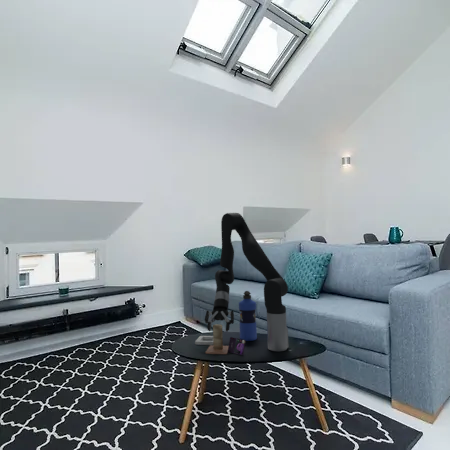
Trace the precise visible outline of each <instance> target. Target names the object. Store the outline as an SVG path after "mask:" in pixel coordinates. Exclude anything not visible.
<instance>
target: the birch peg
mask: <svg viewBox="0 0 450 450" xmlns="http://www.w3.org/2000/svg"><path fill="white" fill-rule="evenodd" d="M223 333H224V332H223V324H221V323H219V324H218V323H217V324H212V336H213V349H214V350H222V349H223V346H224V344H223V343H224V342H223V341H224V340H223V339H224V338H223Z"/></svg>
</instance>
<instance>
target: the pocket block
mask: <svg viewBox="0 0 450 450" xmlns="http://www.w3.org/2000/svg"><path fill="white" fill-rule="evenodd" d="M194 344H195V345H197V346H198V345H199V346H200V345H201V346H202V345H204V346H210V345H213V335H200V336H199V337H198V338H197V339H195V341H194Z"/></svg>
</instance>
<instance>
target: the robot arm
mask: <svg viewBox="0 0 450 450" xmlns="http://www.w3.org/2000/svg"><path fill="white" fill-rule="evenodd" d="M222 215H223V216H222V217H221V223H220V224H221V226H220V229H221V230H220V231H221V251H220V252H221V253H220V260H219V264H220V265H219V266H220V267H222V268H224V269H227V270H221V269H218V270H217V271H216V272H215V273H214V279H215V284H216V291H215V295H214V300H213V307H212V311H210V310H208V309H207V310H206V312H205V316H204V322H205V324H207V327H206V329H207V331H208V332H211V331H212V330H211V329H212V325H213V323H215V321H224V322H225V324H226V325H225V332H226V333H228V331H229V330H230V325H232V324H234V323H235V321H234V320H235V314H234V313H235V311H234V310H231V311H229V305H230V285H233V283H234V281H235V274H234V256H235V250H234V245H233V242H232V232H233V231H236V233H237V234H238V235H239V237H240V241H241V248H242V253H243V255H244V256H245V258H246V259H247V261H248V263H249V264H250V265H251V266H252V267H253V268H255V269H256V270H257V271H258V272H259V273H260V274H261V275H263V276H264V278H265V280H266V282H265V283H264V284H263V285H264V286H263V297H264V298H263V301H264V306H265V309H266V332H267V334H266V336H267V349H268V350H270V351H272V352H284V351H287V349H288V348H289V328H288V326H287V307H286V305H284V303H283V302H282V301H283V299H282V297H284V296H286V294H287V293H288V292H289V287H288V284H287V282H286V281H285V279H284V278H283V276H282V275H281V274H280V273H279V272H278V270H277V269H276V268H275V266H274V265H273V263H272V262H271V261H270V259H269V257H268V256H267V255H266V253H265V252H264V249H263V248H262V247H261V245H260V244H259V243H258V241H257V240H256V237H255V235H253V233H252V232H251V230H250V227H249V226H248V224H247V222H246V220H245V218H244V217H243V216H242V214H241V213H239V212H227V213H225V214H222ZM228 316H230V319H229V317H228Z"/></svg>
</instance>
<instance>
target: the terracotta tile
mask: <svg viewBox="0 0 450 450" xmlns="http://www.w3.org/2000/svg"><path fill="white" fill-rule="evenodd" d="M228 347H229V345H223V349H222V350H214V349H213V345H208V348H207V349H206V350H205V354H207V355H228V353H229V352H228Z"/></svg>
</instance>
